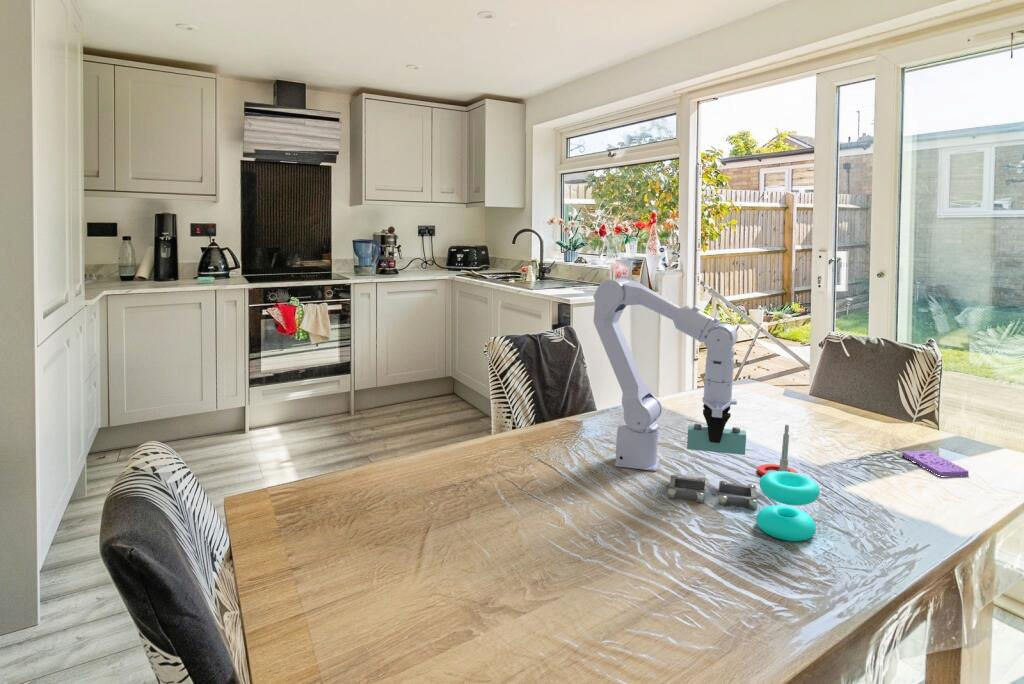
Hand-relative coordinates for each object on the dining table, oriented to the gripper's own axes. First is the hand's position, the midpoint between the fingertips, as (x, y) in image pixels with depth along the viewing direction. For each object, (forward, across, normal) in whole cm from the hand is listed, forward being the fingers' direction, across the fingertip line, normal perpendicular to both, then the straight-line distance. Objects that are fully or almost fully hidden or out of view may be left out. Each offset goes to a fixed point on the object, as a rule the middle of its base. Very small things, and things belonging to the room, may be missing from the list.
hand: (714, 439), depth 135 cm
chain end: (+9, -10, +5) cm, 14 cm away
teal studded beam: (+2, 0, 0) cm, 2 cm away
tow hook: (+9, +6, -14) cm, 18 cm away
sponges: (+10, +23, -49) cm, 55 cm away
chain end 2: (+9, -10, -5) cm, 14 cm away
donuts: (+9, -21, -13) cm, 26 cm away
